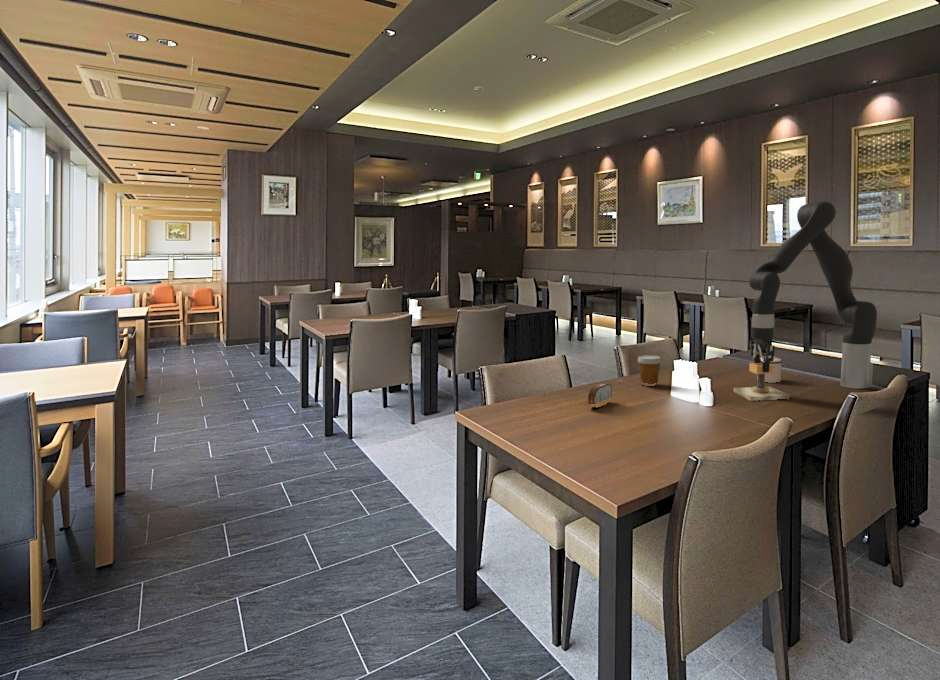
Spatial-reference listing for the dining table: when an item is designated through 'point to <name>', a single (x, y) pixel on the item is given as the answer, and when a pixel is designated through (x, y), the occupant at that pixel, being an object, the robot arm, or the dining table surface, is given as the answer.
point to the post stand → (761, 391)
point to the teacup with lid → (776, 372)
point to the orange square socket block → (760, 368)
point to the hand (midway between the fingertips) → (761, 370)
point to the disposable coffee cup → (649, 368)
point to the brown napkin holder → (599, 393)
